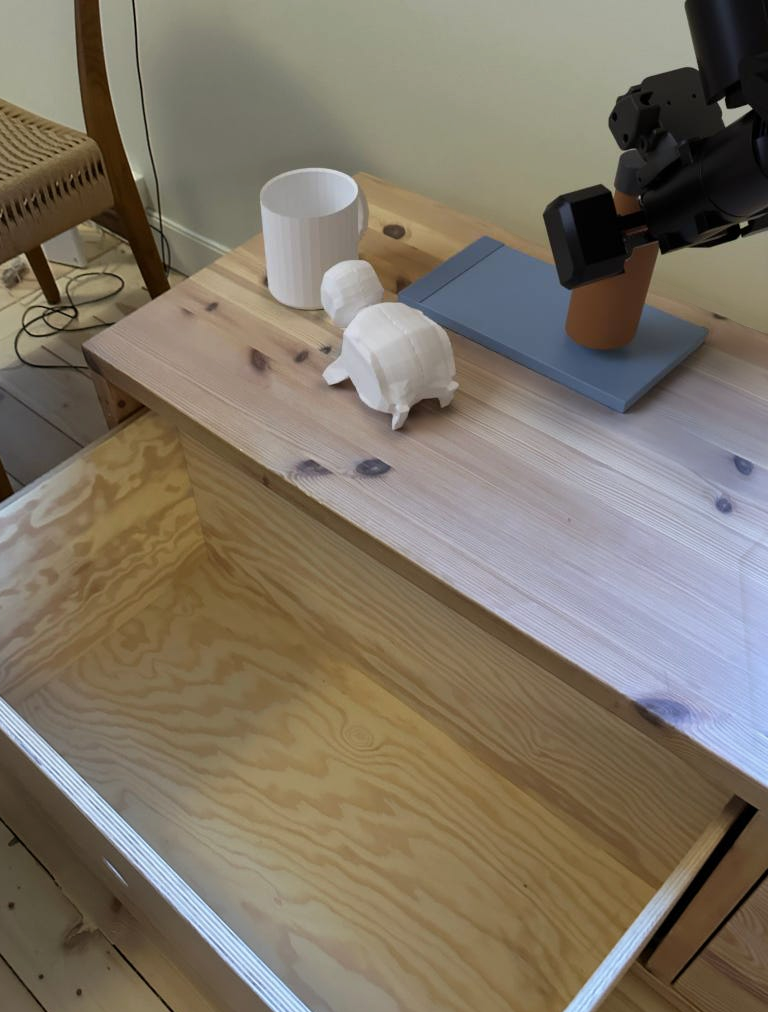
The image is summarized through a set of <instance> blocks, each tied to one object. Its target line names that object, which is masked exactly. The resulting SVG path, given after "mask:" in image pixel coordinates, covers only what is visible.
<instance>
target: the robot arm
mask: <svg viewBox="0 0 768 1012" xmlns="http://www.w3.org/2000/svg"><path fill="white" fill-rule="evenodd" d="M683 3H684V6H683V7H684V12H685V15H686V20H687V24H688V29H689V34H690V38H691V42H692V46H693V50H694V51H693V52H694V55H695V60H696V65H697V68H695V67H693V66H684V67H680V68H676V69H673V70H668V71H664V72H661V73H657V74H653V75H649V76H646V77H645V78H643V79H642V80H641V82H640V84H639V83H638V84H634V85H632V86H630V87H629V89H627V92H626V93H624V94H622V95H619V96H617V97H616V99H615V105H614V107H613V108H612V110H611V112H610V114H609V115H608V120H607V121H608V122H607V125H608V129H609V131H610V133H611V135H612V136H613V139H614V140H615V143H616V144H617V146H618V149H620V150H621V151H623V152H626V151H629V150H635V149H637V150H638V152H639V154H640V156H641V158H642V159H643V160H644V161H645V162H647V164H645V165H644V166H643V167H641V168H640V169H638V170H637V171H636V172H635V173H636V177H637V181H638V185H639V189H644V188H645V189H646V193H642V194H641V195H639V196H638V198H637V200H638V204H639V207H640V209H641V210H642V209H643V210H642V211H638V212H635V213H631V214H628V215H624V216H622V215H621V214H617V212H616V208H615V204H614V200H613V198H614V195H613V193H612V190H610V189H609V188H608V187H606V186H605V185H604V184H603V183H598V184H595V185H591V186H587V187H584V188H581V189H577V190H574V191H569V192H566V193H563V194H559V195H558V196H557V197H555V198H554V199H553V200H552V201H550V202H549V203H548V204H546V207H545V209H544V211H543V212H542V218H543V222H544V226H545V231H546V234H547V237H548V242H549V246H550V250H551V253H552V257H553V261H554V266H556V269H557V273H558V277H559V281H560V285H562V286H563V287H565V288H566V289H568V290H572V289H575V288H579V287H582V286H585V285H589V284H592V283H595V282H599V281H601V280H604V279H608V278H611V277H614V276H618V275H621V274H624V273H625V269H624V264H625V261H627V260H629V259H630V258H631V257H632V255H633V250H634V249H636V248H639V247H643V246H646V245H649V244H653V243H656V242H658V243H659V247H660V248H659V251H660V255H661V256H663V255H667V254H670V253H673V252H674V253H675V252H677V251H679V250H683V249H710V248H714V247H718V246H720V245H723V244H726V243H731V242H733V241H736V240H738V239H739V238H740V237H741V238H742V239H744V238H747V237H751V236H755V235H757V234H761V233H764V232H768V0H685V1H684V2H683ZM723 99H724V104H725V108H726V109H727V110H734V109H739V108H741V107H742V108H743V107H745V106H747V105H748V106H749V108H750V110H749V111H747V112H746V113H745V114H743V115H741V116H740V117H739V118H737V119H736V120H734V121H733V122H731V123H730V124H728V125H727V126H726V125H725V122H724V120H723V110H722V108H721V106H720V104H719V102H720V101H722V100H723ZM745 222H747V225H745V226H744V227H741V223H745ZM644 228H648V229H647V230H646V231H642V232H638V233H636V235H635V233H634V234H632V235H631V236H630V235H628V236H627V235H626V234H627V233H630V232H634V231H637V230H641V229H644Z"/></svg>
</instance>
